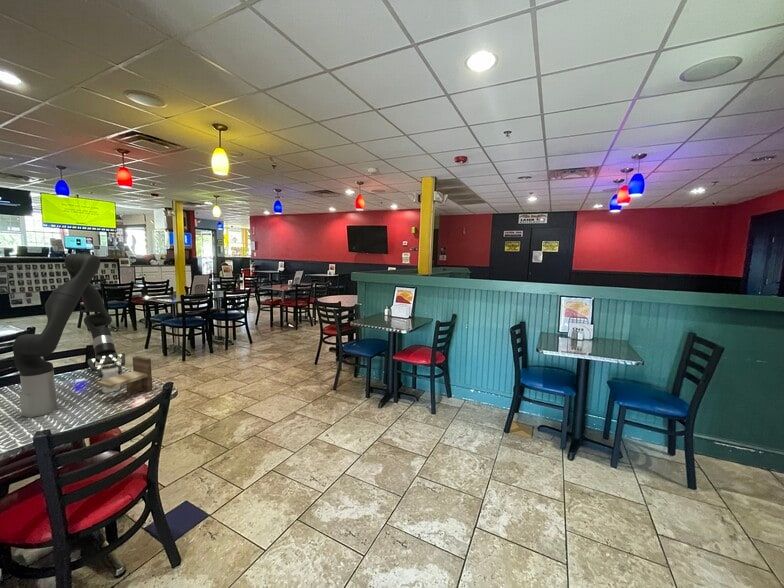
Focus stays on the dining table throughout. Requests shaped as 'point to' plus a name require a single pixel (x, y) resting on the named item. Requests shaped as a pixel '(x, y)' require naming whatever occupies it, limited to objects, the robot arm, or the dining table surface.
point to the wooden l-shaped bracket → (133, 377)
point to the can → (109, 376)
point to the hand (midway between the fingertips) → (110, 375)
